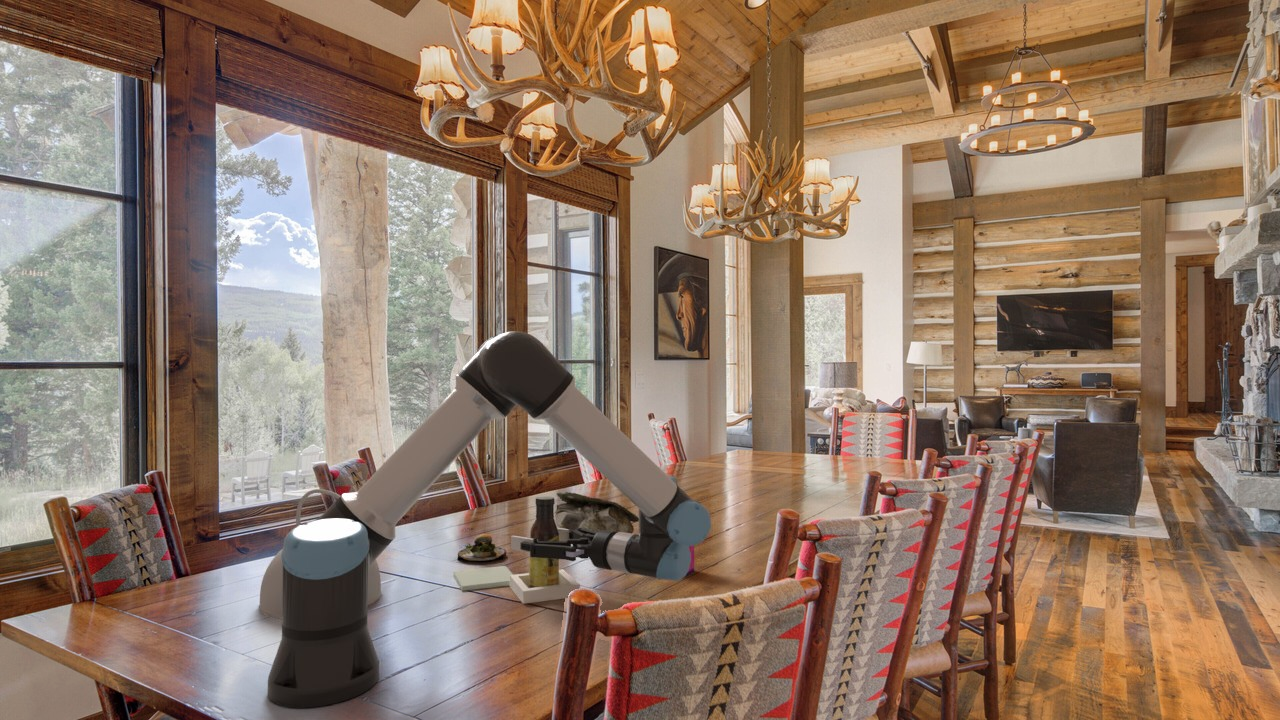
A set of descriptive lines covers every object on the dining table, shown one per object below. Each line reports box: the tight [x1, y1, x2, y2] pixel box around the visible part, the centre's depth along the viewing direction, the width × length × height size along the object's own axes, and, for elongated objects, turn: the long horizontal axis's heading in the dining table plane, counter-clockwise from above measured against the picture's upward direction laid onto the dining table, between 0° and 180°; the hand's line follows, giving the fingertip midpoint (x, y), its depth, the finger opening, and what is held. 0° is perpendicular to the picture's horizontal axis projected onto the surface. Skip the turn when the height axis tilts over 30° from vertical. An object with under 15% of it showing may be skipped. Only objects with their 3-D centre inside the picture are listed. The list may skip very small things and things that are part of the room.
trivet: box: [452, 565, 514, 592], centre depth 156 cm, size 12×12×1 cm
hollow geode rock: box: [554, 491, 639, 534], centre depth 194 cm, size 28×13×15 cm
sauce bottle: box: [528, 496, 560, 588], centre depth 148 cm, size 7×6×20 cm
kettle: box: [258, 488, 382, 620], centre depth 142 cm, size 25×23×22 cm
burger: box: [456, 526, 507, 562], centre depth 175 cm, size 12×12×8 cm
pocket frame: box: [509, 568, 581, 605], centre depth 148 cm, size 12×12×2 cm
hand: (528, 537), depth 150 cm, fingers open, 10 cm apart
